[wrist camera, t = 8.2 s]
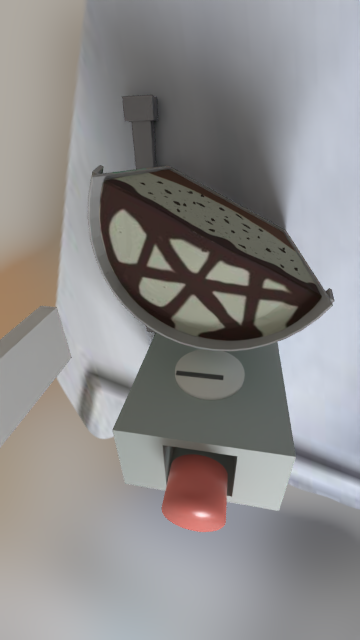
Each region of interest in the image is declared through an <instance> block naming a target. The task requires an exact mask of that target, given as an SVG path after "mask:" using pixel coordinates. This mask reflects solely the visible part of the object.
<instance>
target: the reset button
mask: <svg viewBox="0 0 360 640" xmlns="http://www.w3.org/2000/svg"><path fill="white" fill-rule="evenodd" d="M227 482H228V474H227V471H226V469H225V468H224V466H223V465H221V464H220V463H219V462H217V461H216V460H214V459H212V458H209V457H206V456H202V455H196V454H188V455H182V456H179V457H177V458H176V459H174V460H173V462H172V464H171V468H170V472H169V477H168V482H167V486H166V491H165V496H164V500H163V504H162V512H163V514H164V516H165V517H166V518H167V519H168V520H169V521H171V522H172V523H174V524H176V525H178V526H180V527H182V528H185V529H188V530H193V531H199V532H211V531H216V530H219V529H221V528H222V527H223V526H224V525H225V522H226V503H227Z"/></svg>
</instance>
